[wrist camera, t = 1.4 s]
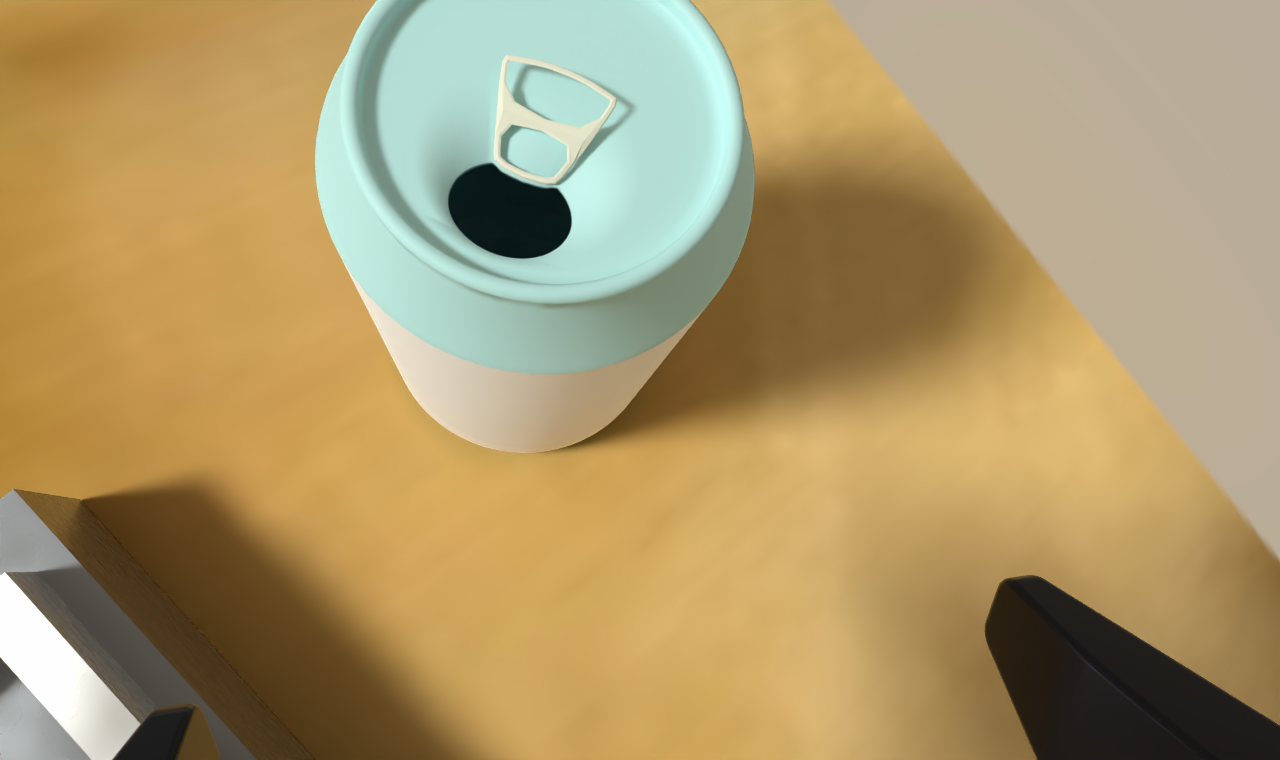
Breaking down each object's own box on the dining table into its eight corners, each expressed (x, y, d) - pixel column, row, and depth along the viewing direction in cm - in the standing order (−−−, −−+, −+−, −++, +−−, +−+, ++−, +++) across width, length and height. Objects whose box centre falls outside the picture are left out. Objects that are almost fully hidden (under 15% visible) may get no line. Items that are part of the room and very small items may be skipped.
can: (684, 413, 24) (856, 271, 12) (434, 490, 23) (366, 409, 11) (606, 184, 25) (699, -144, 14) (362, 243, 24) (232, -69, 12)
